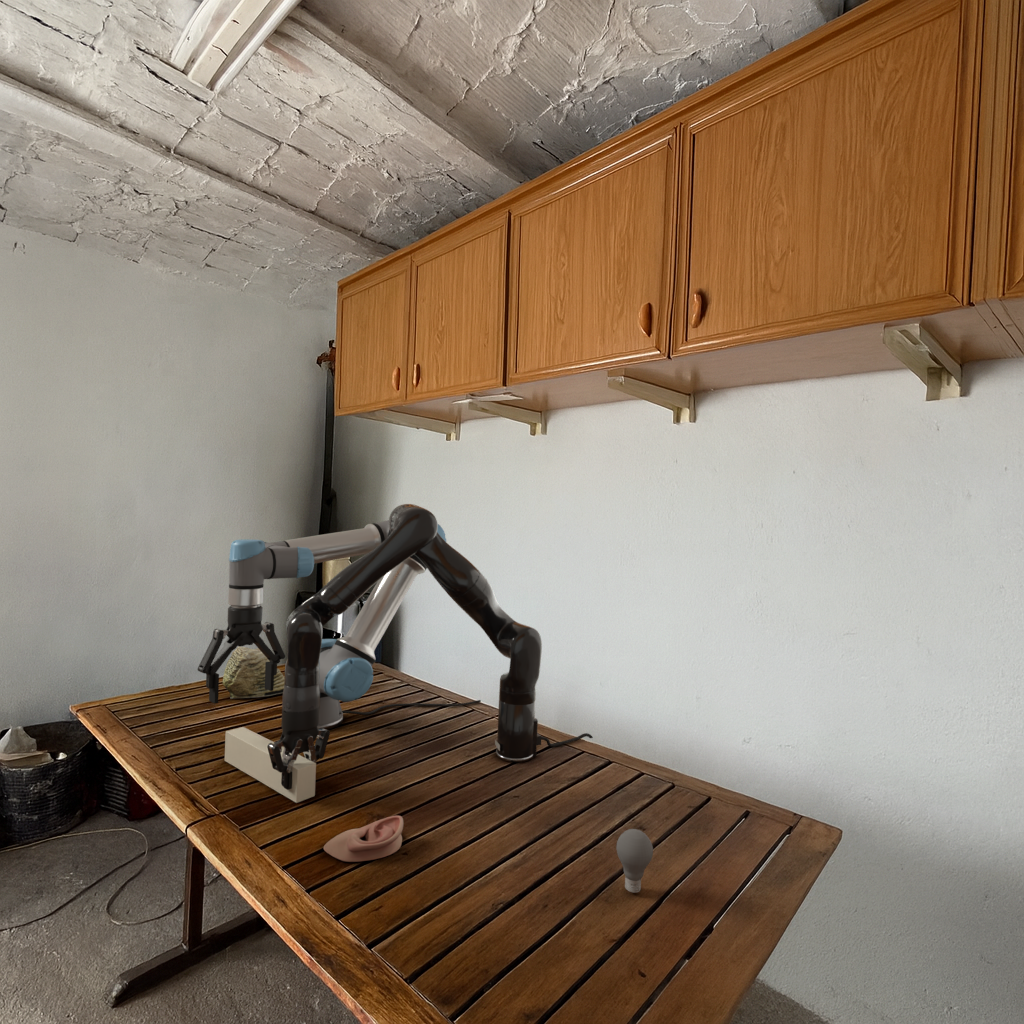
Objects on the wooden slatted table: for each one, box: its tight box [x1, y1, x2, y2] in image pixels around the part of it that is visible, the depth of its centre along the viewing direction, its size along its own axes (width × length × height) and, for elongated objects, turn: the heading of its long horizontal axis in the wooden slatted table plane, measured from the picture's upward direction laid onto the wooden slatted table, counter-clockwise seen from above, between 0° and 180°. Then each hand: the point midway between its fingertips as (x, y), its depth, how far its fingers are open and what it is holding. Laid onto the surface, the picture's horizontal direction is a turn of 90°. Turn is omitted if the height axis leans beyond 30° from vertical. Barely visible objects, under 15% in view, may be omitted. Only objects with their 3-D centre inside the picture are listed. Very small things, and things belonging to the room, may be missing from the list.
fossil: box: [222, 646, 285, 699], centre depth 198 cm, size 9×18×15 cm, turn 132°
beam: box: [224, 726, 317, 804], centre depth 142 cm, size 30×4×7 cm, turn 51°
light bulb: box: [615, 828, 654, 894], centre depth 106 cm, size 6×6×10 cm
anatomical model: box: [323, 815, 404, 863], centre depth 116 cm, size 13×4×12 cm
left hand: (242, 695), depth 149 cm, fingers open, 13 cm apart
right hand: (297, 784), depth 134 cm, fingers closed on beam, 4 cm apart
